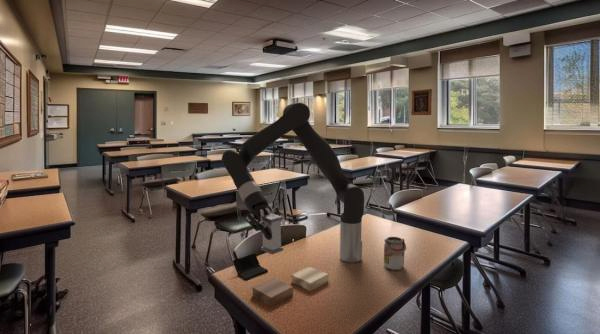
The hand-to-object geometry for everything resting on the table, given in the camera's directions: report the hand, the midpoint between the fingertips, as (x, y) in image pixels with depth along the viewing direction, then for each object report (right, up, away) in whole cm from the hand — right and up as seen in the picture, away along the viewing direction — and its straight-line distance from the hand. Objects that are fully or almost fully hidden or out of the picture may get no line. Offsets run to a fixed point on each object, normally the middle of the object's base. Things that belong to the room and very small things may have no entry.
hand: (275, 236), depth 113 cm
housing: (-1, -5, +2) cm, 6 cm away
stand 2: (+12, -20, +14) cm, 27 cm away
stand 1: (-1, -21, +4) cm, 22 cm away
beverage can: (+47, -18, +25) cm, 57 cm away
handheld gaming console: (-12, -19, +22) cm, 32 cm away
